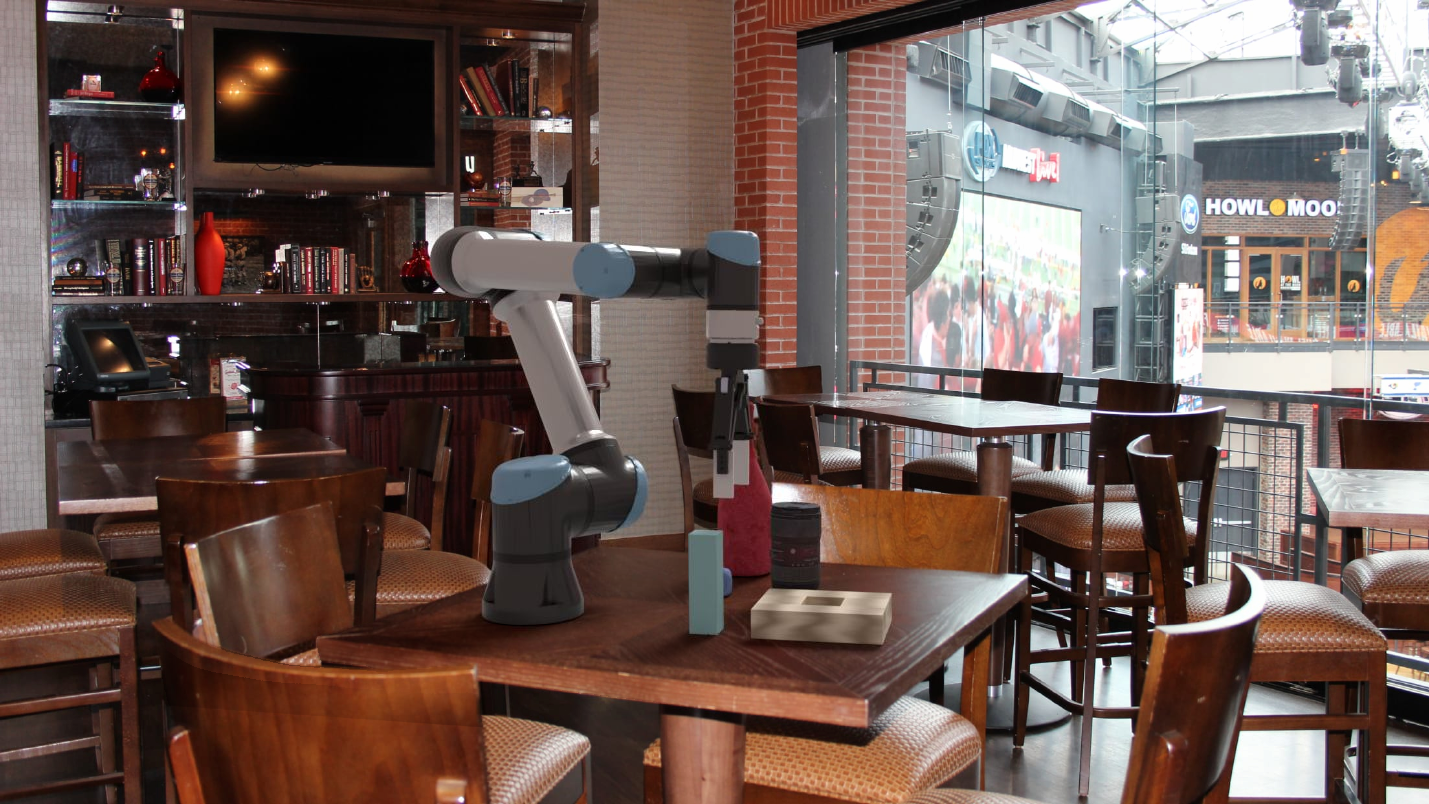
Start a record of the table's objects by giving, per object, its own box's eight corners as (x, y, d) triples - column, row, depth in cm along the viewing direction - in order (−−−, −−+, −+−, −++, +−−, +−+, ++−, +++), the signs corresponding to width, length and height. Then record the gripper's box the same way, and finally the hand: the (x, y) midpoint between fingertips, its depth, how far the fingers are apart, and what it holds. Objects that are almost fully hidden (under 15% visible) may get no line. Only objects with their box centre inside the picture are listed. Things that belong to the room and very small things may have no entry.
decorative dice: (726, 591, 200) (726, 566, 200) (732, 596, 196) (732, 571, 196) (702, 592, 199) (702, 568, 199) (708, 597, 195) (707, 572, 195)
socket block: (751, 638, 169) (750, 609, 168) (769, 615, 182) (769, 588, 182) (882, 644, 165) (882, 615, 164) (891, 620, 178) (891, 593, 178)
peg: (689, 633, 172) (688, 534, 171) (696, 626, 176) (695, 529, 175) (717, 634, 171) (716, 535, 170) (723, 628, 175) (722, 530, 174)
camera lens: (818, 605, 189) (818, 508, 188) (766, 603, 190) (766, 507, 189) (824, 593, 197) (824, 501, 196) (774, 592, 198) (774, 500, 197)
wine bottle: (719, 567, 220) (717, 399, 218) (773, 567, 219) (772, 399, 218) (716, 578, 210) (715, 403, 208) (774, 578, 210) (773, 402, 208)
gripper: (745, 343, 160) (744, 504, 162) (771, 339, 185) (769, 479, 186) (689, 343, 162) (688, 502, 163) (722, 339, 186) (721, 478, 188)
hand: (731, 490), depth 175 cm, fingers open, 13 cm apart
